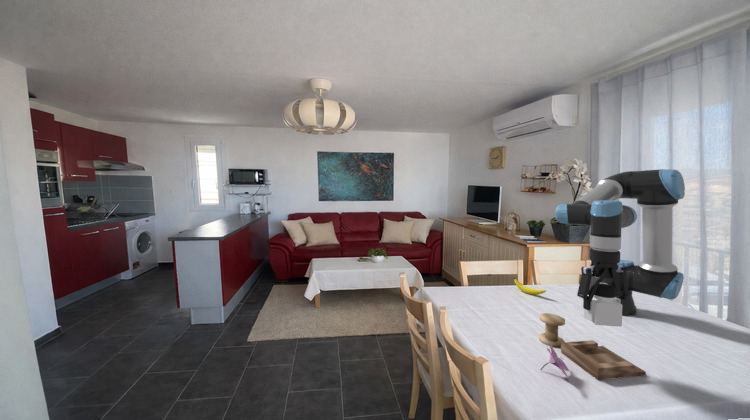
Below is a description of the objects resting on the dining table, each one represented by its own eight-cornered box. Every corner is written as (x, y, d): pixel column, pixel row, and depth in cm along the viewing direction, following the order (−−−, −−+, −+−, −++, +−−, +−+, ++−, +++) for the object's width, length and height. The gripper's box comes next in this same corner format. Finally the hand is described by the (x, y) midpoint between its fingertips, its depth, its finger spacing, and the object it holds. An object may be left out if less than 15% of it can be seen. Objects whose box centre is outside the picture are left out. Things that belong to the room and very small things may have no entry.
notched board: (602, 349, 97) (603, 339, 97) (645, 375, 83) (646, 364, 83) (561, 352, 95) (561, 342, 95) (597, 380, 81) (598, 368, 81)
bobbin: (553, 335, 107) (553, 312, 106) (569, 346, 99) (570, 322, 98) (534, 336, 106) (534, 313, 105) (549, 348, 98) (550, 323, 97)
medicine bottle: (622, 327, 84) (624, 289, 83) (595, 325, 85) (597, 287, 85) (607, 316, 91) (609, 281, 90) (583, 315, 92) (584, 280, 92)
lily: (557, 395, 77) (578, 369, 75) (520, 359, 86) (538, 336, 84) (569, 388, 85) (588, 364, 83) (534, 356, 94) (550, 334, 92)
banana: (544, 300, 140) (544, 288, 140) (511, 288, 157) (511, 278, 157) (548, 299, 142) (548, 287, 141) (515, 288, 159) (515, 277, 158)
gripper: (622, 245, 91) (619, 311, 93) (564, 247, 89) (562, 315, 91) (647, 250, 84) (643, 321, 86) (584, 253, 82) (581, 326, 83)
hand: (601, 318), depth 88 cm, fingers closed on medicine bottle, 8 cm apart
